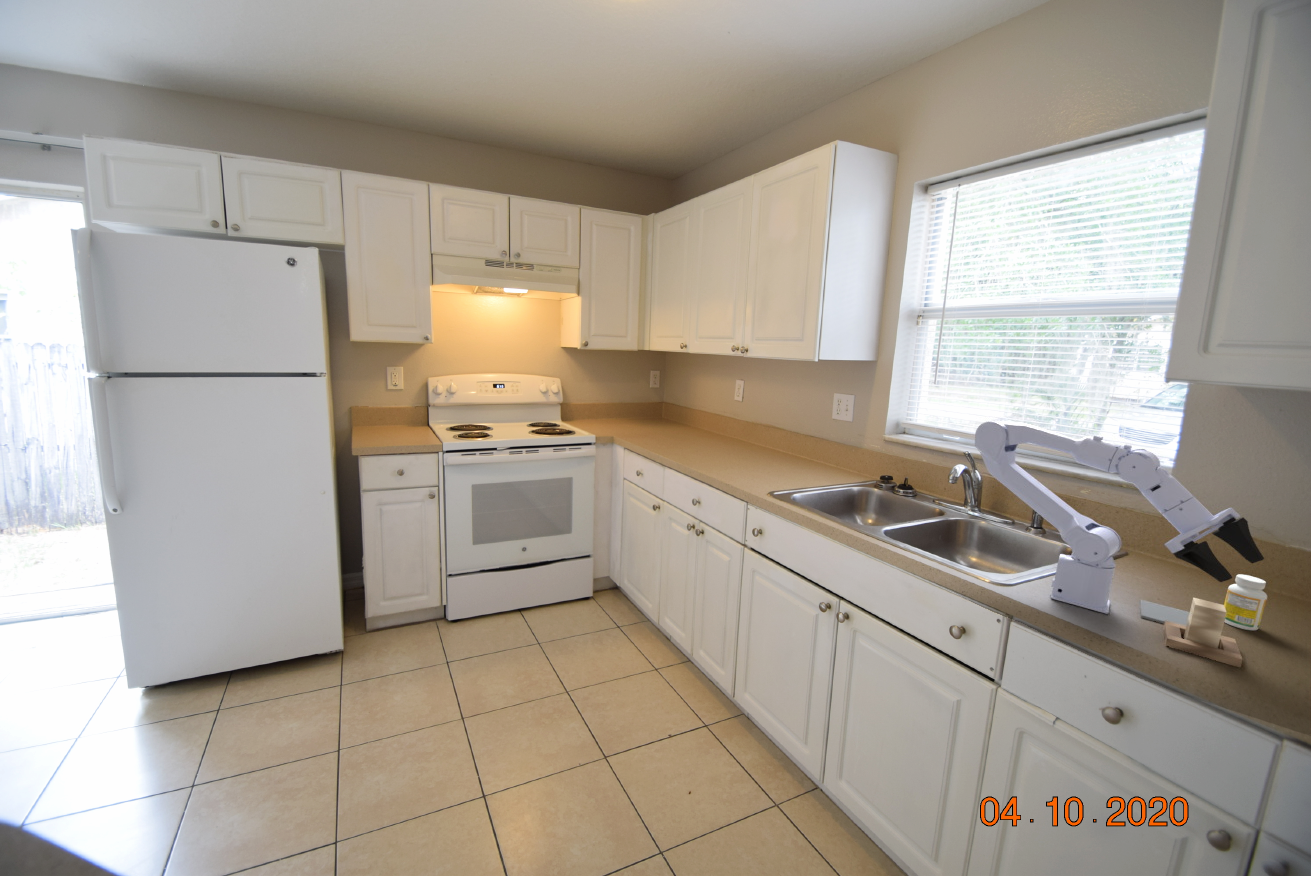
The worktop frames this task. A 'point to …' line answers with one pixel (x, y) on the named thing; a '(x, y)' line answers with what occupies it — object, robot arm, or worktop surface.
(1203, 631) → the maple part
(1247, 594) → the supplement bottle
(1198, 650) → the pocket block
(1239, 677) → the worktop surface
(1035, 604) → the worktop surface
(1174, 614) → the slate mat
